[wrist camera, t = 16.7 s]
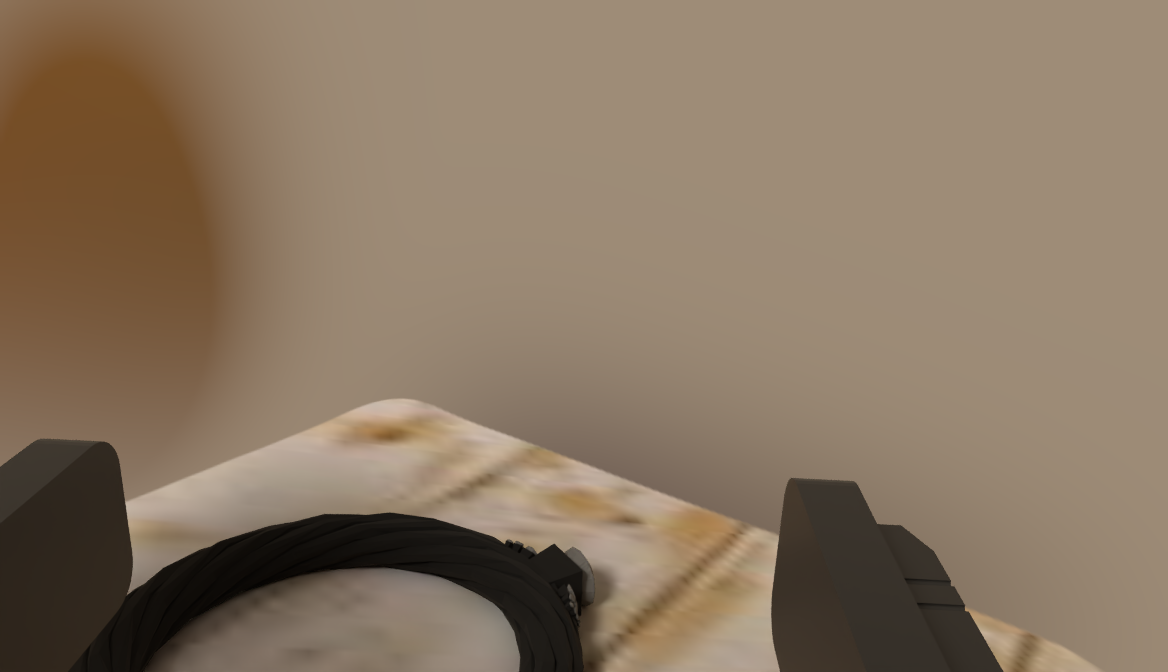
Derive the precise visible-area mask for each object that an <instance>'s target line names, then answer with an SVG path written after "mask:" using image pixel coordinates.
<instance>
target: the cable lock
mask: <svg viewBox="0 0 1168 672" xmlns="http://www.w3.org/2000/svg"><path fill="white" fill-rule="evenodd" d="M515 542H516V543H513V542H512V541H511V540H508V541H507V540H506V543H505V544H504V543H502V542H501V541H499V540H498V539H496V538H495V537H492V536H489V535H486V534H482V533H479V532H476V531H473V530H470V529H466V528H463V527H460V526H457V525H453V524H450V523H447V522H444V521H440V520H437V519H433V518H426V517H419V516H412V515H404V514H397V513H381V514H372V515H355V514H323V515H319V516H315V517H311V518H307V519H303V520H300V521H296V522H290V523H284V524H278V525H273V526H268V527H264V528H261V529H258V530H255V531H252V532H248V533H245V534H242V535H239V536H235V537H232V538H229V539H226V540H223V541H220V542H218V543H216V544H215V545H213V546H211V547H208V548H204V549H201V550H199V551H197V552H195V553H193V554H191V555H189V556H187V557H185V558H183V559H181V560H179V561H177V562H175V563H173V564H171V565H168V566H166V567H164V568H163V569H162V570H161V571H159V572H158V573H157V574H156V575H155V576H153V577H152V578H151V579H150V580H148V581H147V582H146V583H145V584H144V585H142V586H140V587H138V588H136V589H134V590H133V591H132V592H131V593H129V594H128V595H127V596H126V597H125V600H124V602H123V603H122V605H121V607H120V608H119V610H118V611H117V613H116V614H115V615H114V616H113V617H112V619H111V620H110V621H109V622H108V624H107V625H106V626H105V627H104V628H103V630H102V631H101V632H100V633H99V634H98V636H97V637H96V638H95V639H94V641H93V642H92V643H91V644H90V645H89V647H88V648H87V649H86V650H85V651H84V653H83V654H82V655H81V656H80V658H79V659H78V660H77V661H76V662H75V664H74V665H73V666H72V667H71V669H70V670H69V671H68V672H142V671H143V670H144V668H145V667H146V665H147V664H148V662H149V660H150V659H151V657H152V656H153V654H154V653H155V652H156V651H157V650H158V649H159V648H160V647H161V646H162V645H163V644H165V643H166V642H167V641H168V640H169V639H170V638H171V637H172V636H173V635H174V634H175V633H176V632H177V631H178V630H180V629H181V628H182V627H183V626H184V625H185V624H186V623H187V622H188V621H189V620H190V619H192V618H194V617H196V616H198V615H200V614H202V613H204V612H206V611H208V610H209V609H211V608H213V607H215V606H216V605H218V604H220V603H222V602H223V601H225V600H227V599H229V598H230V597H232V596H234V595H236V594H237V593H239V592H241V591H245V590H249V589H252V588H255V587H259V586H262V585H265V584H268V583H271V582H274V581H277V580H280V579H283V578H286V577H289V576H292V575H295V574H299V573H302V572H309V571H317V570H324V569H341V568H350V567H359V566H368V565H377V566H386V567H391V568H395V569H403V570H412V571H421V572H429V573H434V574H437V575H439V576H441V577H443V578H445V579H447V580H450V581H452V582H454V583H456V584H459V585H461V586H463V587H465V588H468V589H470V590H472V591H474V592H476V593H478V594H479V595H481V596H483V597H485V598H486V599H488V600H490V601H492V602H493V603H494V604H495V605H496V606H497V607H498V608H499V609H500V610H501V611H502V612H503V613H504V615H505V617H506V618H507V620H508V622H509V623H510V625H511V627H512V628H513V630H514V632H515V636H516V641H517V645H518V649H519V653H520V669H519V672H583V668H584V666H583V661H582V648H581V643H580V638H579V633H578V627H579V626H580V621H579V620H578V619H579V616H581V605H585V606H588V605H590V604H591V603H593V599H594V594H595V587H594V577H593V573H592V569H591V566H590V564H589V563H588V561H587V559H586V558H585V557H584V555H583V554H582V553H581V551H580V550H578V549H576V548H574V547H572V548H570V549H569V550H567V551H566V552H565V553H564V552H563V551H561V550H560V549H559V548H558V547H557V546H556V545H555V544H553V545H551V546H550V547H548V548H546V549H545V550H543V551H542V552H540V553H539V554H537V553H536V551H535V550H534V549H533V548H532V547H530V546H528V547H526V548H524V546H523V544H522V543H520V542H518V541H515ZM512 543H513V544H512ZM577 620H578V621H577Z"/></svg>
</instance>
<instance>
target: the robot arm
mask: <svg viewBox="0 0 1168 672" xmlns="http://www.w3.org/2000/svg"><path fill="white" fill-rule="evenodd" d="M132 568H133V557H132V548H131V541H130V534H129V527H128V520H127V512H126V505H125V498H124V492H123V484H122V477H121V470H120V464H119V459H118V456H117V453H116V451H115V449H114V448H113V447H112V446H111V445H110V444H109V443H107V442H99V441H80V440H60V439H40V440H37V441H35V442H33V443H31V444H30V445H29V446H27V447H26V448H25V449H23V450H22V451H21V452H19V453H18V454H17V455H15V456H14V457H13V458H11V459H10V460H9V461H8V462H6V463H5V464H3V465H2V466H1V467H0V672H68V671H69V670H70V669H71V667H72V666H73V665H74V664H75V662H76V661H77V660H78V659H79V658H80V656H81V655H82V654H83V653H84V651H85V650H86V649H87V648H88V647H89V645H90V644H91V643H92V642H93V641H94V639H95V638H96V637H97V636H98V634H99V633H100V632H101V631H102V630H103V628H104V627H105V626H106V625H107V624H108V622H109V621H110V620H111V619H112V617H113V616H114V615H115V614H116V613H117V611H118V610H119V608H120V607H121V605H122V603H123V602H124V600H125V597H126V595H127V592H128V589H129V586H130V582H131V576H132ZM771 619H772V635H773V642H774V648H775V652H776V656H777V660H778V664H779V669H780V672H1003V670H1002V668H1001V667H1000V665H999V663H998V662H997V660H996V658H995V656H994V655H993V653H992V651H991V649H990V648H989V646H988V644H987V643H986V641H985V639H984V637H983V636H982V634H981V632H980V630H979V629H978V627H977V625H976V623H975V622H974V620H973V618H972V617H971V615H970V613H969V612H967V611H965V604H964V603H963V601H962V599H961V598H960V596H959V594H958V593H957V591H956V589H955V587H953V586H951V580H950V579H949V577H948V575H947V574H946V572H945V570H944V568H943V566H942V565H941V563H940V561H939V560H938V558H937V556H936V554H935V553H934V551H933V550H931V549H930V548H929V547H928V546H926V545H925V544H924V543H923V542H921V541H920V540H919V539H917V538H916V537H915V536H914V535H913V534H911V533H910V532H909V531H907V530H906V529H905V528H904V527H902V526H901V525H880V524H877V523H876V521H875V519H874V517H873V516H872V513H871V511H870V509H869V507H868V505H867V503H866V501H865V499H864V497H863V495H862V493H861V491H860V489H859V487H858V485H857V484H856V483H855V482H854V481H840V480H821V479H799V478H791V479H790V480H789V481H788V484H787V486H786V491H785V495H784V503H783V511H782V518H781V526H780V534H779V542H778V550H777V558H776V566H775V574H774V582H773V591H772V607H771Z"/></svg>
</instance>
